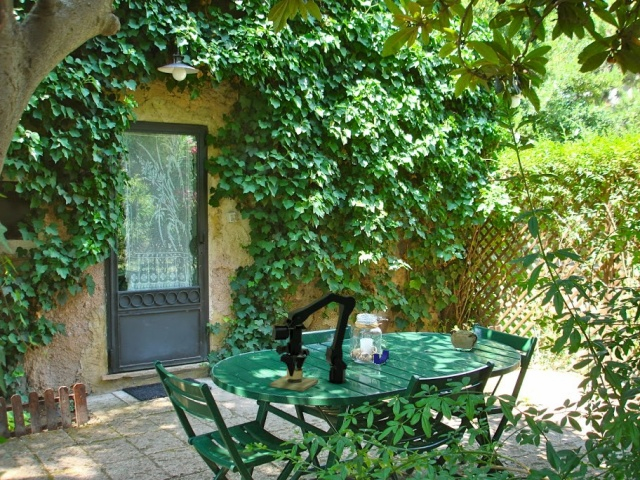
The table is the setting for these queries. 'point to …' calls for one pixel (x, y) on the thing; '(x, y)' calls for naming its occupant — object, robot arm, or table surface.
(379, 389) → the table surface
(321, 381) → the table surface
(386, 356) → the cable clip
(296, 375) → the ring
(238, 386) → the table surface
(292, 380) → the stand
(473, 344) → the sugar bowl
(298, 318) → the robot arm
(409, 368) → the table surface
